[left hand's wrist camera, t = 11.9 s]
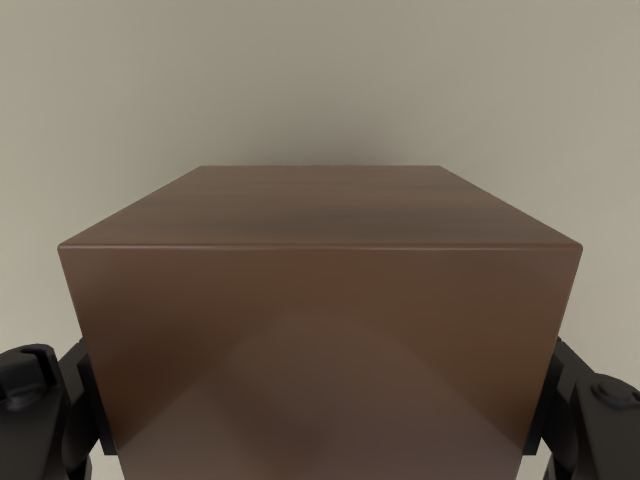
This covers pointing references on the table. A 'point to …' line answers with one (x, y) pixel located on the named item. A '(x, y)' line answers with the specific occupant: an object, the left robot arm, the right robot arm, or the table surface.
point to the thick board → (320, 324)
